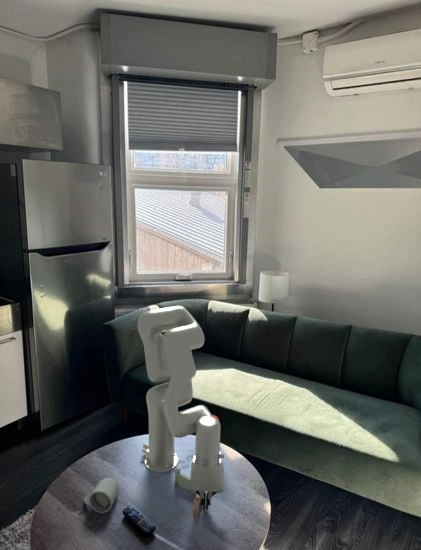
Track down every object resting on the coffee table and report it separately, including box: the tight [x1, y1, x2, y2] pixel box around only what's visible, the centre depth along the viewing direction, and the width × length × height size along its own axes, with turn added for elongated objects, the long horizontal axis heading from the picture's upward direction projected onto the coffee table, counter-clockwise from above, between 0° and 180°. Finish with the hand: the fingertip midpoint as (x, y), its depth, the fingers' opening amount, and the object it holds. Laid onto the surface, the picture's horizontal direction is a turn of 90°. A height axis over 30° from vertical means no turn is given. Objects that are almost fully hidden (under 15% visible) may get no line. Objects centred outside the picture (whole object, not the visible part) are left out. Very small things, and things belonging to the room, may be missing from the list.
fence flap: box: [192, 493, 201, 518], centre depth 131 cm, size 10×2×6 cm, turn 174°
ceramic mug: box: [84, 477, 120, 514], centre depth 131 cm, size 11×8×8 cm
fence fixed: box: [174, 467, 197, 495], centre depth 138 cm, size 9×2×6 cm, turn 60°
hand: (205, 506), depth 129 cm, fingers closed
